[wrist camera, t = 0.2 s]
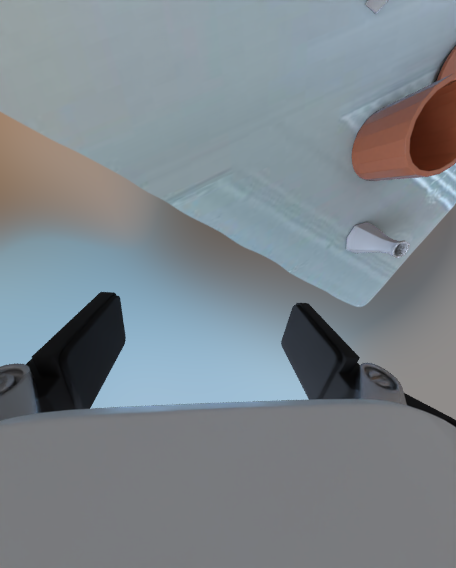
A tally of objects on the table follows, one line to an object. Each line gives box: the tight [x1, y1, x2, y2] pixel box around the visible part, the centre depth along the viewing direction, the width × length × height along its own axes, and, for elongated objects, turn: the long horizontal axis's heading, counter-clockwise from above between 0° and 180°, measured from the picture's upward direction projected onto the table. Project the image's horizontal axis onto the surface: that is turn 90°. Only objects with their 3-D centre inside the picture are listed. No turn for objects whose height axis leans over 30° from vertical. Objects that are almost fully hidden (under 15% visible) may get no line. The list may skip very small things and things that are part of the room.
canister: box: [352, 73, 456, 181], centre depth 30 cm, size 11×12×10 cm
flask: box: [346, 222, 410, 258], centre depth 38 cm, size 7×7×10 cm
